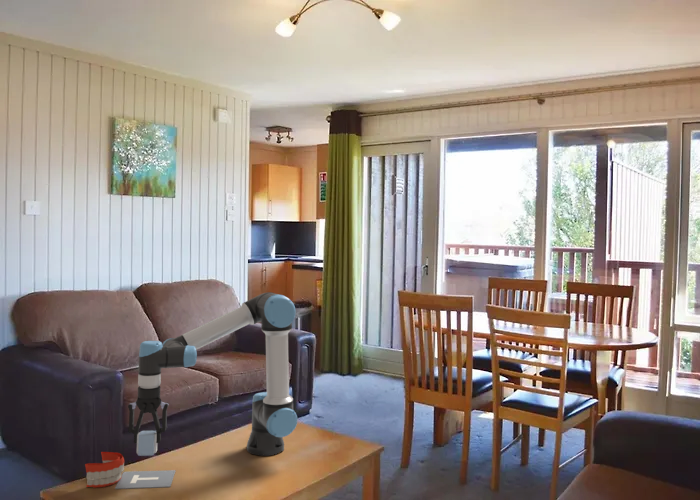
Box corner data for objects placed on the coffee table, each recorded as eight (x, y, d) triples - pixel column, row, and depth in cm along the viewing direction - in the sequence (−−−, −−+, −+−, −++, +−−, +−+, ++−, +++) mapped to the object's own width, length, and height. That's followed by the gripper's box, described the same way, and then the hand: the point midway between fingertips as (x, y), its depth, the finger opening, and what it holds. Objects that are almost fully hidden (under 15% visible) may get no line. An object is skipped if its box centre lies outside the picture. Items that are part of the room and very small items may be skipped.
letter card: (175, 471, 214) (175, 470, 214) (170, 487, 200) (170, 486, 200) (123, 472, 211) (123, 471, 211) (114, 489, 197) (114, 488, 197)
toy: (114, 489, 196) (114, 465, 196) (84, 488, 197) (84, 464, 197) (130, 474, 209) (130, 452, 209) (102, 473, 209) (102, 451, 209)
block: (155, 450, 208) (156, 430, 208) (153, 455, 203) (153, 435, 203) (140, 450, 207) (141, 430, 207) (138, 455, 203) (138, 435, 202)
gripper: (177, 383, 210) (174, 447, 211) (124, 383, 207) (122, 448, 208) (174, 388, 203) (172, 455, 203) (119, 388, 200) (117, 456, 200)
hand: (146, 451), depth 206 cm, fingers closed on block, 5 cm apart
